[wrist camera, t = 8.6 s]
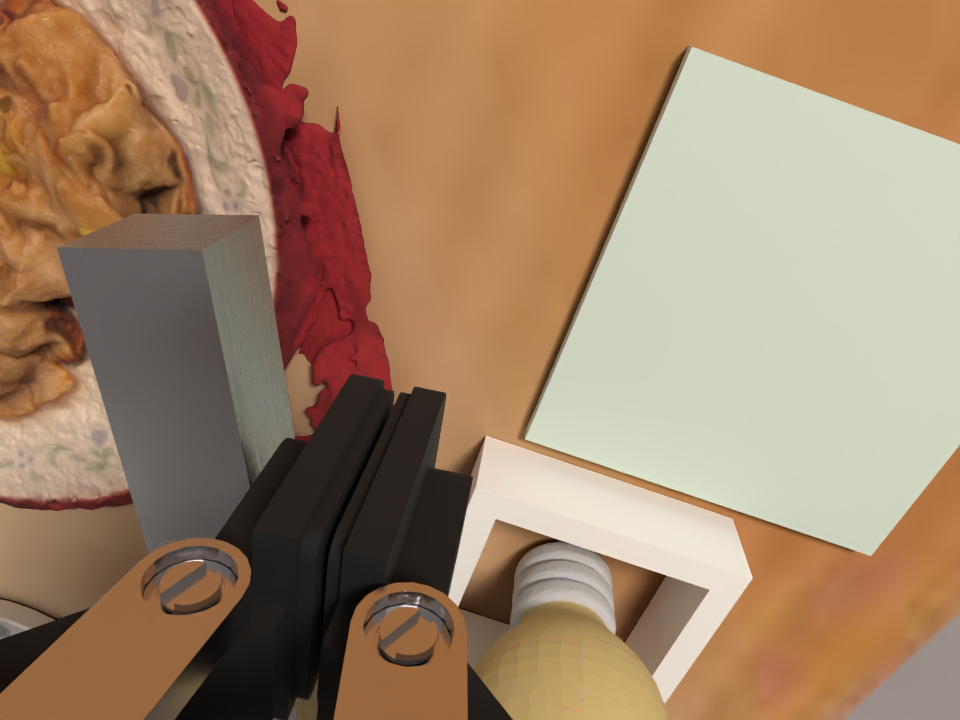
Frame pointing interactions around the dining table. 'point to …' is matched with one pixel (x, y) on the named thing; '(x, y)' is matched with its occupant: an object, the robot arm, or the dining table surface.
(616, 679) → the light bulb
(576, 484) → the white handled box
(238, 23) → the plate with food
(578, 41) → the dining table surface
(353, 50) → the dining table surface
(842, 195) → the mat
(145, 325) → the silver metal bar
